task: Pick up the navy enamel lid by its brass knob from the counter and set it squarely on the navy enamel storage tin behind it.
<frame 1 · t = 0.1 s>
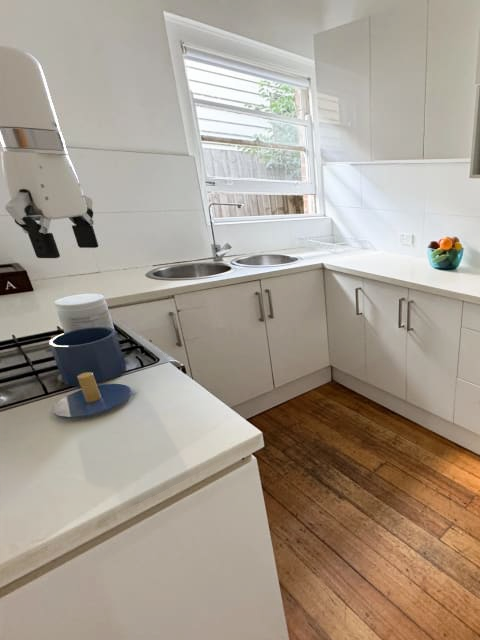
hand: (70, 252, 67), 30 cm above the worktop, tool pointing down, fingers open, 9 cm apart
lid: (94, 401, 77), point 1 cm above the worktop
supplement tub: (98, 354, 98), on the worktop
tin: (96, 374, 88), on the worktop
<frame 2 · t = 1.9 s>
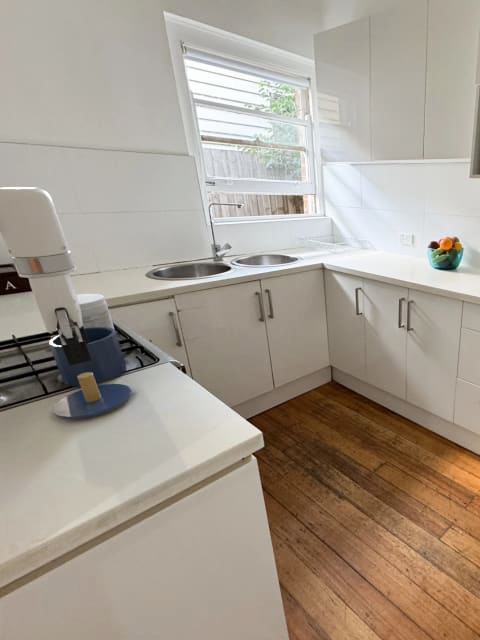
hand: (79, 353, 73), 11 cm above the worktop, tool pointing down, fingers open, 9 cm apart
nothing on the worktop moved.
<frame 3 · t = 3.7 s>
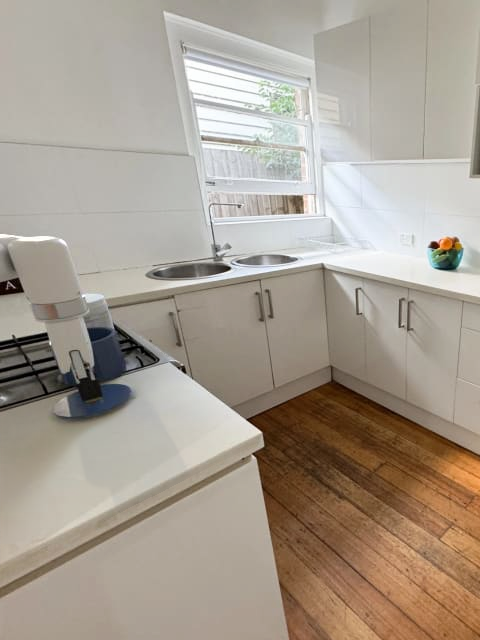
hand: (92, 394, 76), 2 cm above the worktop, tool pointing down, fingers closed on lid, 2 cm apart
lid: (94, 401, 77), point 1 cm above the worktop, touching gripper
everything else where it was.
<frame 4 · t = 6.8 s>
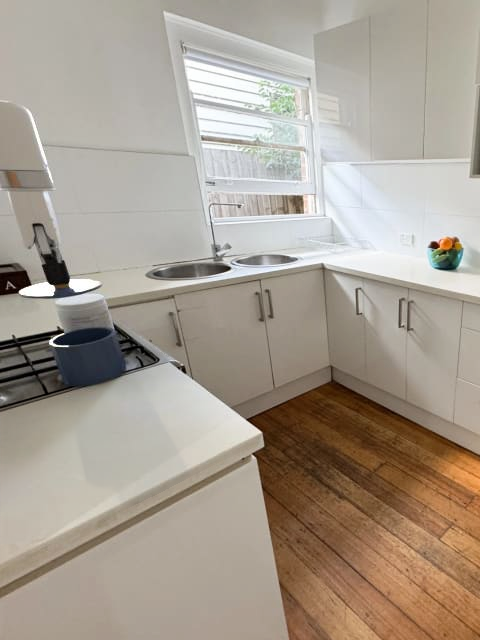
hand: (59, 281, 75), 23 cm above the worktop, tool pointing down, fingers closed on lid, 2 cm apart
lid: (62, 289, 76), point 21 cm above the worktop, touching gripper
everything else where it was.
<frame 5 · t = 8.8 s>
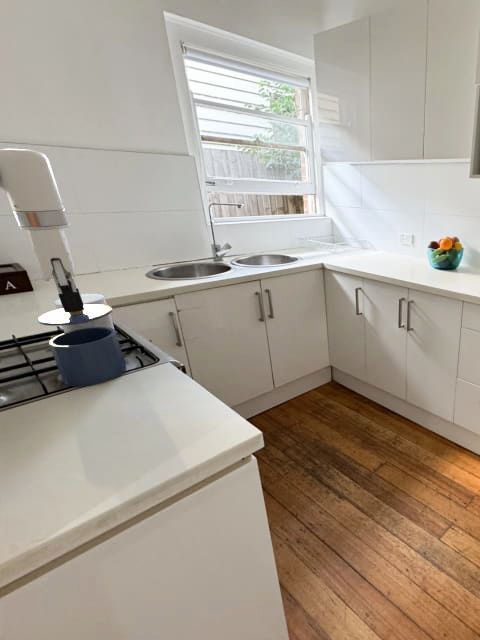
hand: (74, 308, 82), 16 cm above the worktop, tool pointing down, fingers closed on lid, 2 cm apart
lid: (77, 315, 82), point 14 cm above the worktop, touching gripper
everything else where it was.
when the fingers open (11 cm above the worktop, at t = 10.1 s): lid stays where it is, resting on tin.
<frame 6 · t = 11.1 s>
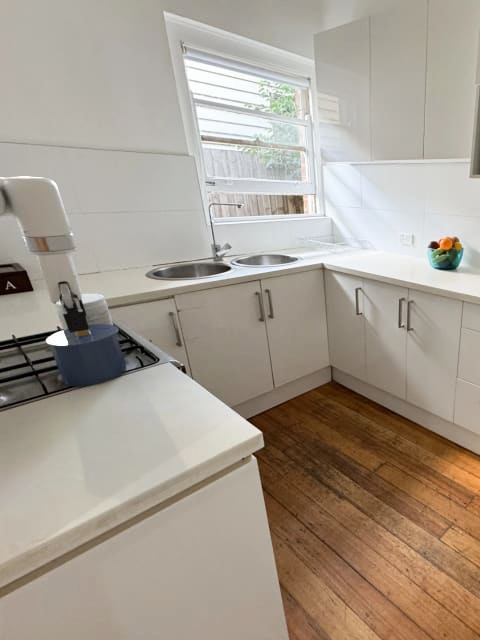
hand: (78, 323, 83), 12 cm above the worktop, tool pointing down, fingers open, 9 cm apart
lid: (84, 336, 84), point 9 cm above the worktop, touching tin
everything else where it was.
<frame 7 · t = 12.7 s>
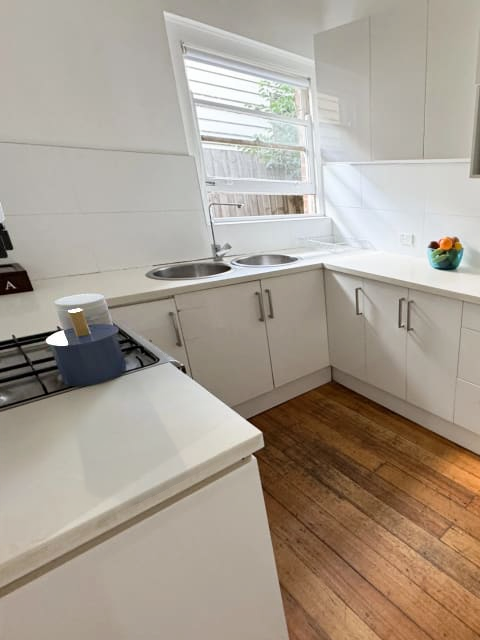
hand: (0, 254, 75), 28 cm above the worktop, tool pointing down, fingers open, 9 cm apart
nothing on the worktop moved.
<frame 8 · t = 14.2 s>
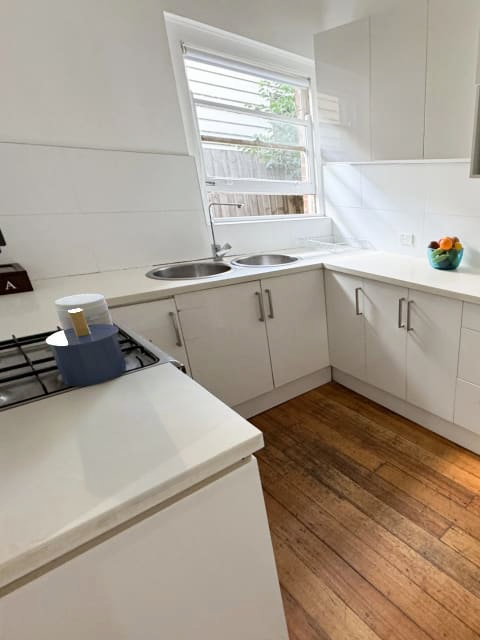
nothing on the worktop moved.
at the end: lid 0.1 cm off-centre on the tin, point 9.5 cm above the tin's base; lid tilted 0°; the gripper is holding nothing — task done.
